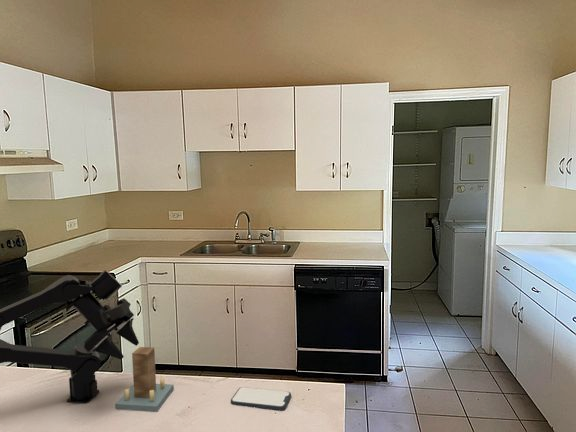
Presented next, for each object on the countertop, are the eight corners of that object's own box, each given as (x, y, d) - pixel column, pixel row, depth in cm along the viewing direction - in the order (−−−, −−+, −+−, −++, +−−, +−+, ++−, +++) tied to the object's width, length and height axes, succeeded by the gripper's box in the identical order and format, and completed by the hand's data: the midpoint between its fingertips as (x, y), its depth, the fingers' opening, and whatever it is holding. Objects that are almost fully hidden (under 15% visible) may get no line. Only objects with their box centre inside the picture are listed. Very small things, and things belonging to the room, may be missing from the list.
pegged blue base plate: (115, 409, 121) (114, 393, 120) (135, 387, 133) (134, 373, 132) (157, 411, 119) (156, 395, 119) (173, 389, 131) (173, 375, 131)
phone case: (229, 406, 123) (284, 413, 119) (229, 401, 123) (284, 407, 119) (240, 391, 131) (292, 396, 127) (240, 386, 131) (291, 391, 127)
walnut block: (134, 397, 124) (132, 353, 122) (141, 389, 128) (139, 346, 127) (149, 398, 123) (147, 354, 122) (156, 390, 128) (154, 347, 126)
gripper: (93, 303, 115) (134, 347, 115) (127, 284, 133) (162, 321, 133) (66, 330, 117) (106, 373, 117) (103, 307, 135) (138, 344, 135)
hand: (130, 351), depth 125 cm, fingers open, 9 cm apart
